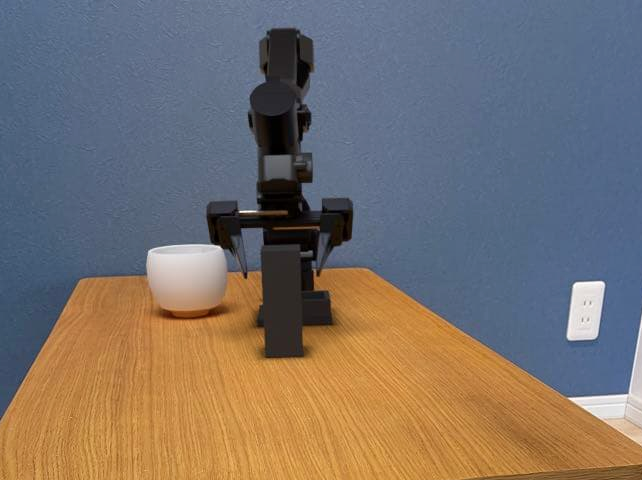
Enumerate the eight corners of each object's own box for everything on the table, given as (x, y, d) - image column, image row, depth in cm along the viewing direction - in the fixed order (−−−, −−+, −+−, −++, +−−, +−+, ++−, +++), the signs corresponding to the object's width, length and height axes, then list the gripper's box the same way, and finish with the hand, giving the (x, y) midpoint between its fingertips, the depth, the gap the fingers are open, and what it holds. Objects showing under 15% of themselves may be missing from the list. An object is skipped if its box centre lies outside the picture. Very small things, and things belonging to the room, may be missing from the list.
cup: (136, 320, 131) (128, 254, 126) (174, 304, 141) (168, 242, 137) (208, 324, 127) (203, 256, 122) (242, 307, 137) (239, 244, 133)
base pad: (259, 311, 134) (258, 288, 133) (329, 309, 134) (329, 286, 133) (257, 326, 124) (256, 302, 123) (332, 324, 125) (332, 300, 123)
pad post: (266, 348, 113) (261, 245, 107) (302, 347, 113) (299, 244, 107) (265, 357, 108) (260, 250, 102) (303, 356, 108) (300, 249, 103)
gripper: (201, 131, 105) (200, 236, 100) (352, 127, 106) (358, 231, 101) (211, 194, 116) (210, 292, 111) (348, 191, 116) (354, 288, 111)
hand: (281, 275), depth 108 cm, fingers open, 9 cm apart
